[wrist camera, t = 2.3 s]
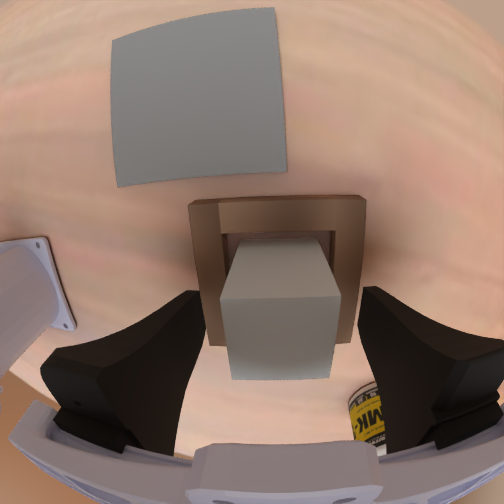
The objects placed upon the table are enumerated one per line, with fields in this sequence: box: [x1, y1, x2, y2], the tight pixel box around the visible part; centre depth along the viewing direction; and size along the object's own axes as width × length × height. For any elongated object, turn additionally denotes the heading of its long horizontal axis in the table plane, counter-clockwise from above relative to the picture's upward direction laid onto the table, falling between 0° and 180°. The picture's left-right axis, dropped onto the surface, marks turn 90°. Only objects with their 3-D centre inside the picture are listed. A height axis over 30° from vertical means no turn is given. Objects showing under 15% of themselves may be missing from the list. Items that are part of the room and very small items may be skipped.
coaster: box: [111, 7, 287, 187], centre depth 11 cm, size 9×9×1 cm
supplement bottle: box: [348, 382, 386, 456], centre depth 15 cm, size 5×5×8 cm
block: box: [220, 237, 341, 380], centre depth 12 cm, size 4×4×6 cm
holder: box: [188, 195, 366, 346], centre depth 14 cm, size 8×8×1 cm
